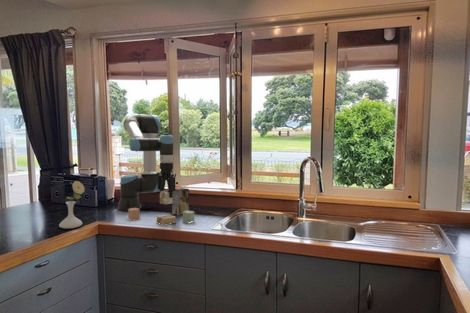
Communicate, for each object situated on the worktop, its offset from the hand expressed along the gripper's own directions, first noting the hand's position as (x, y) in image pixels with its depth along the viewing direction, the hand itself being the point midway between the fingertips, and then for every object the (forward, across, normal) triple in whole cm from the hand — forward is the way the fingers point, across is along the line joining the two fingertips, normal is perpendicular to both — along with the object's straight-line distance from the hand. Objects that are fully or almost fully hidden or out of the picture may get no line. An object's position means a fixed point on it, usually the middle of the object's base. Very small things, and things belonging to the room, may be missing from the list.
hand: (166, 202), depth 186 cm
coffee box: (+12, -10, +21) cm, 26 cm away
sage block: (+12, +8, +10) cm, 18 cm away
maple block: (0, 0, 0) cm, 0 cm away
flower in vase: (+12, -32, -38) cm, 51 cm away
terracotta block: (+12, -22, -6) cm, 26 cm away
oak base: (+12, 0, 0) cm, 12 cm away
